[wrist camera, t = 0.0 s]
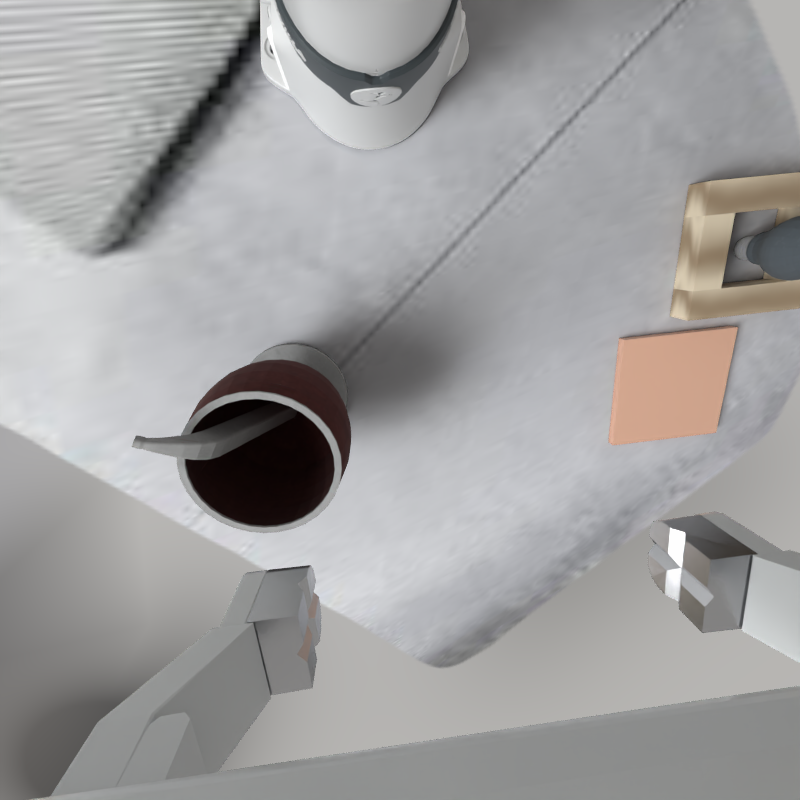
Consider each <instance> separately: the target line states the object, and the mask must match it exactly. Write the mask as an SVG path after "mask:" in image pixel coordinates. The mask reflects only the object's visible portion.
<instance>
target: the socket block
mask: <svg viewBox="0 0 800 800" xmlns="http://www.w3.org/2000/svg"><path fill="white" fill-rule="evenodd" d="M777 208H778V212H777V217H776V221H775V226H774V228H775V227H776V226H777V225H779V224H780V223H782V222H784V221H787V220H789V219H791V218H794V217H797V216H800V172H797V173H786V174H776V175H766V176H756V177H745V178H735V179H725V180H715V181H708V182H702V183H697V184H692V185H689V188H688V195H687V201H686V208H685V215H684V222H683V229H682V236H681V243H680V250H679V256H678V263H677V270H676V277H675V284H674V291H673V298H672V305H671V312H670V316H671V317H675V318H679V319H683V320H688V321H690V320H699V319H708V318H717V317H726V316H735V315H744V314H753V313H762V312H771V311H780V310H789V309H798V308H800V280H793V281H787V280H781V279H777V278H774V277H771V276H770V275H769V274H767V273H766V272H765V271H764V276H763V279H760V280H751V281H741V282H732V283H723V284H722V282H723V276H724V271H725V265H726V260H727V255H728V249H729V244H730V239H731V233H732V228H733V222H734V217H735V213H738V212H748V211H758V210H768V209H777Z"/></svg>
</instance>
